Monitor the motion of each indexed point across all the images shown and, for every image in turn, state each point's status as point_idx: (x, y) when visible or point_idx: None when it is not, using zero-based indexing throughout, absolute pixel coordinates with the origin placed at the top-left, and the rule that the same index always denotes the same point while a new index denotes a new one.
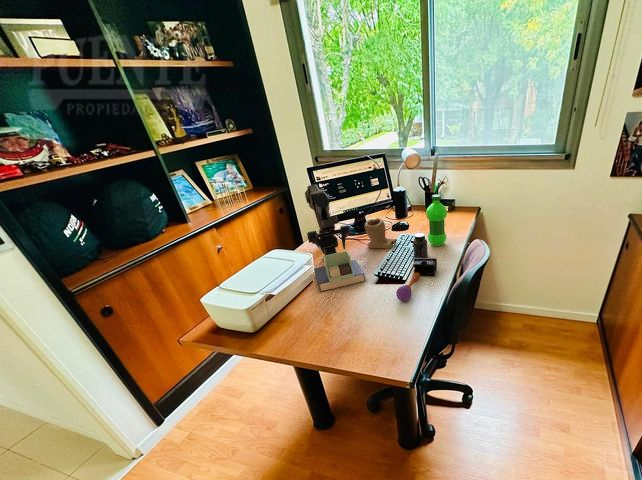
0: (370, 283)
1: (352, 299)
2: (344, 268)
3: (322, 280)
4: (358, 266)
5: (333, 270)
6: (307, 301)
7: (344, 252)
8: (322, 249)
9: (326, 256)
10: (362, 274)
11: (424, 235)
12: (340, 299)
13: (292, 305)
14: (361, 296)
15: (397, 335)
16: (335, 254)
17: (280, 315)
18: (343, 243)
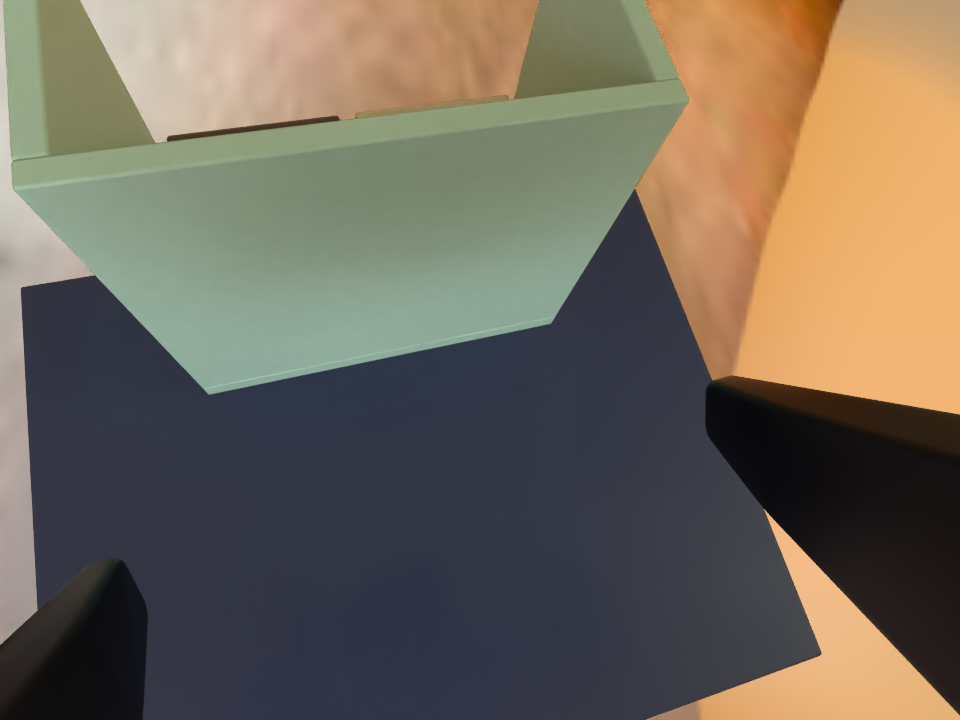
0: (28, 269)
1: (274, 42)
2: (267, 129)
3: (604, 250)
4: (61, 544)
5: (446, 103)
6: (685, 125)
7: (126, 162)
8: (806, 398)
9: (600, 103)
10: (54, 287)
11: None
12: (388, 73)
13: (794, 106)
14: (181, 62)
15: None
16: (384, 130)
17: (832, 14)
18: (7, 687)
